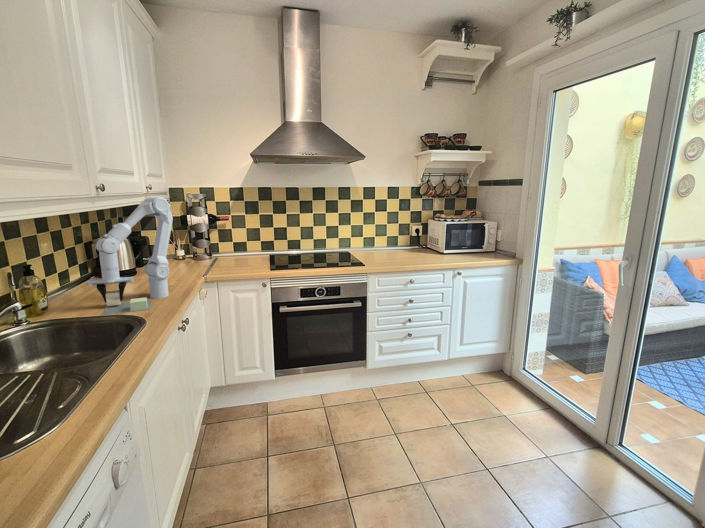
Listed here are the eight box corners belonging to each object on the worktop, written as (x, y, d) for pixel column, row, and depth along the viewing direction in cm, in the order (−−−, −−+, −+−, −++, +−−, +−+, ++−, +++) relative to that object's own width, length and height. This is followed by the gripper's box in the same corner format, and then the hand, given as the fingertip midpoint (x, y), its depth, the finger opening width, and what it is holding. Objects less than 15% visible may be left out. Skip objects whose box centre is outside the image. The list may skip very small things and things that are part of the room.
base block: (131, 307, 138) (130, 299, 138) (147, 305, 141) (146, 297, 140) (130, 311, 134) (129, 302, 133) (147, 309, 136) (146, 301, 136)
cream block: (108, 303, 141) (106, 291, 140) (121, 301, 143) (119, 290, 142) (107, 306, 137) (105, 294, 136) (120, 304, 139) (118, 292, 138)
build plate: (106, 305, 142) (106, 304, 141) (151, 300, 149) (151, 299, 149) (101, 317, 129) (101, 315, 129) (150, 311, 136) (150, 309, 136)
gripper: (85, 271, 130) (90, 306, 133) (130, 268, 137) (134, 301, 140) (88, 268, 136) (93, 301, 139) (132, 265, 143) (135, 297, 146)
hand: (113, 301), depth 140 cm, fingers closed on cream block, 4 cm apart
